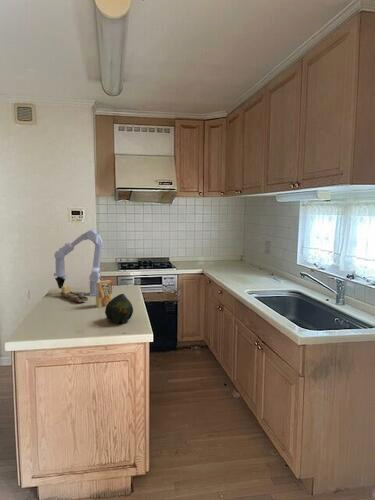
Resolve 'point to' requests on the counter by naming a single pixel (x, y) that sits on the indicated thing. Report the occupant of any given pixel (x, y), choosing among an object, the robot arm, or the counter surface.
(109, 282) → the candy box
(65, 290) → the rider
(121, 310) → the squash
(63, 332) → the counter surface
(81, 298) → the gnarled wood piece
